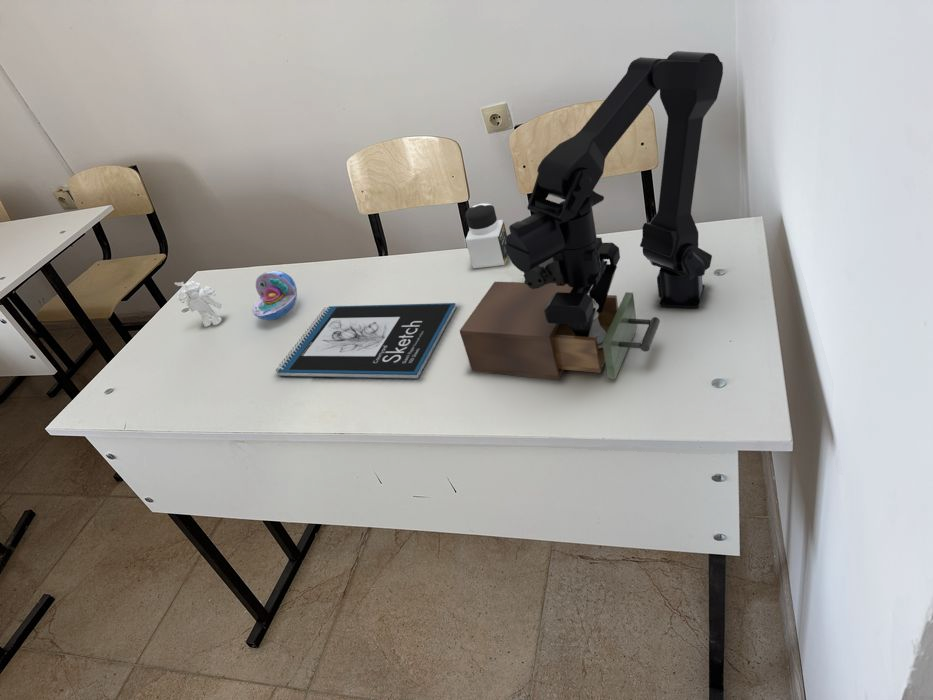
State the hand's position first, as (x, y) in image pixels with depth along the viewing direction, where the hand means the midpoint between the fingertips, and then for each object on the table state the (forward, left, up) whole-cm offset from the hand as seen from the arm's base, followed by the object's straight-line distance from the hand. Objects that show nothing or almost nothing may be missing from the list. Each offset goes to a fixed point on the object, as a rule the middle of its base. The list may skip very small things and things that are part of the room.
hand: (591, 326), depth 105 cm
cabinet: (+12, 0, -5) cm, 13 cm away
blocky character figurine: (+90, 0, -6) cm, 90 cm away
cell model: (+73, -5, -6) cm, 73 cm away
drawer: (0, 0, -4) cm, 5 cm away
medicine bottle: (+32, -29, -6) cm, 43 cm away
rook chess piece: (0, 0, -4) cm, 4 cm away
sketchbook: (+45, +2, -6) cm, 45 cm away
